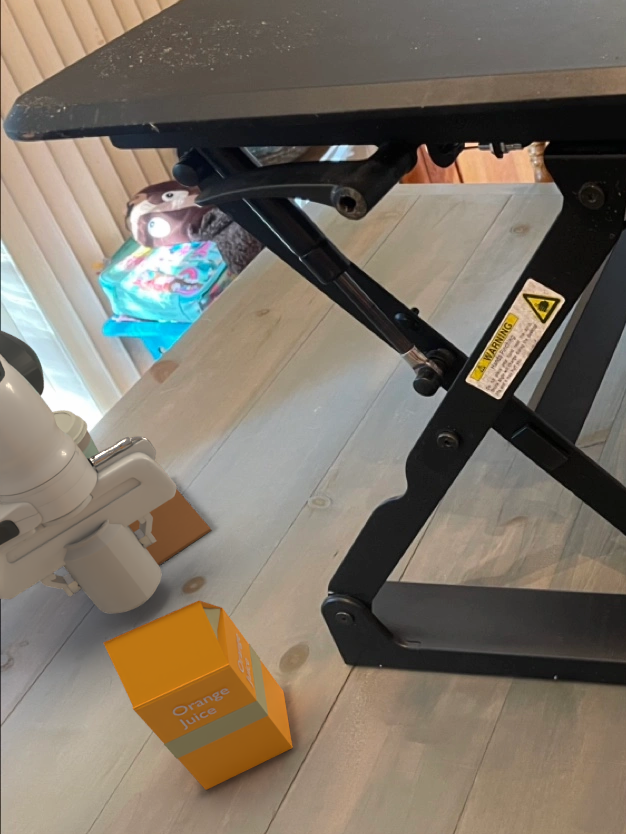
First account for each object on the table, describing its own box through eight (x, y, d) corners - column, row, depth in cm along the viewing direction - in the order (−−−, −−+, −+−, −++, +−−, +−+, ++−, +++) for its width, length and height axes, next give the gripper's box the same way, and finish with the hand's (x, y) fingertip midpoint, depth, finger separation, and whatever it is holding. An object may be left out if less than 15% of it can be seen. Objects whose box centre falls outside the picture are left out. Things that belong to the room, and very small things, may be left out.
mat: (103, 602, 127) (101, 600, 127) (66, 546, 136) (64, 544, 135) (211, 530, 134) (210, 528, 134) (170, 481, 142) (168, 479, 142)
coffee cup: (46, 515, 141) (-6, 452, 134) (89, 468, 147) (41, 405, 140) (97, 520, 139) (47, 456, 131) (139, 472, 145) (93, 408, 138)
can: (141, 558, 129) (90, 490, 121) (178, 578, 125) (128, 510, 118) (86, 604, 124) (30, 537, 117) (123, 627, 120) (67, 559, 113)
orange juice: (293, 748, 107) (202, 629, 95) (205, 791, 105) (100, 675, 92) (284, 689, 113) (197, 570, 100) (199, 729, 111) (100, 612, 98)
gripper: (131, 416, 120) (187, 499, 129) (-60, 527, 110) (14, 608, 119) (151, 440, 116) (207, 524, 125) (-45, 556, 106) (31, 639, 115)
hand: (112, 566), depth 122 cm, fingers closed on can, 7 cm apart
